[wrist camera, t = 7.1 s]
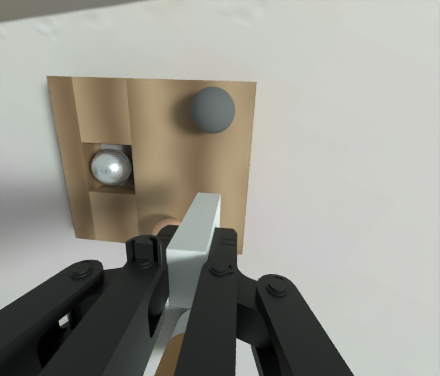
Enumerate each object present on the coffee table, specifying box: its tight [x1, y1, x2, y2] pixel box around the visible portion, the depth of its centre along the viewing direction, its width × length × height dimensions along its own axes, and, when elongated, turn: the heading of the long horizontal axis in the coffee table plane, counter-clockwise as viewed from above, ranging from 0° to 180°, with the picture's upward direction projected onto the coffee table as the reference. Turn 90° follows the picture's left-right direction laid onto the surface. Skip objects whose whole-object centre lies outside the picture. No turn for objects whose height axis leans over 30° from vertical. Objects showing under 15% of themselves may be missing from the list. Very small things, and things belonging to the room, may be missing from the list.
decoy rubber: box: [190, 86, 235, 134], centre depth 16 cm, size 3×3×3 cm
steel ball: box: [91, 149, 132, 185], centre depth 21 cm, size 3×3×3 cm
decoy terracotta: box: [151, 218, 181, 236], centre depth 19 cm, size 3×3×3 cm
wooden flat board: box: [47, 76, 257, 254], centre depth 21 cm, size 17×15×2 cm
